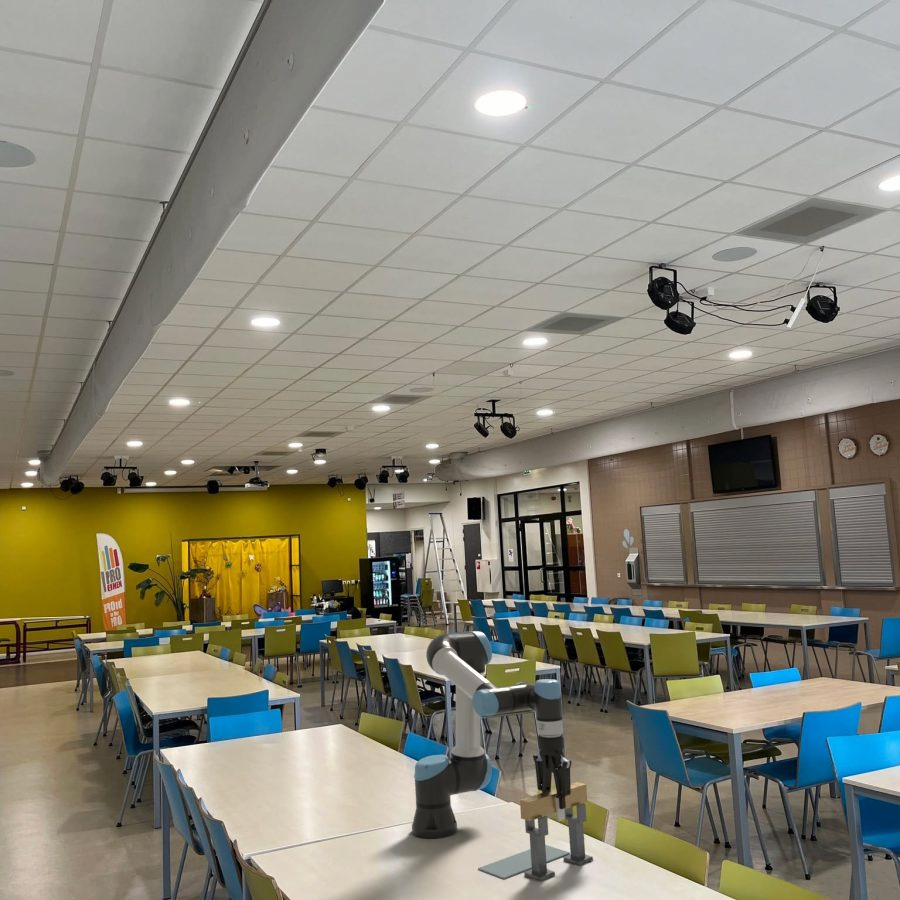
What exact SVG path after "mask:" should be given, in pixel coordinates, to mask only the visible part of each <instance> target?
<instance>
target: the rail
mask: <svg viewBox="0 0 900 900" xmlns="http://www.w3.org/2000/svg"><path fill="white" fill-rule="evenodd" d="M570 784H571V794H570V795H567V796H566V797H565V802H566V808H565V809H567V808H570V807H573V808H574V807H576V806H577V805H580V804H583V803H584V804H586V803H587V802H588V792H587V784H586V783H583V782H578V781H576V782H573V783H570ZM556 796H557V791H556V788H554V789H551V790H550V791H547V792H544V793H542V792H541V793H537V794H534V795H531V796H527V797H525V798H522V799H519V806H520V808H519V809H520V819H522V820H524V821H525V820H528V821H532V820H538V818H541V817H544V816H546V815H549V814H552V813H554V814H556V800H555V797H556Z"/></svg>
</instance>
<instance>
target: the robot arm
mask: <svg viewBox="0 0 900 900" xmlns="http://www.w3.org/2000/svg"><path fill="white" fill-rule="evenodd" d="M492 658H493V649H492V645H491V643H490V640H489V638H488V637H487V636H486V634H485V633H484V632H482V631H477V630H475V631H474V630H473V631H471V630H468V631H460V632H452V633H442V634H439V635H438V636H435V638H433V639H432V640H431V641H430V643H429V644H428V646H427V648H426V661H427V664H428V666H429V668H430V669H431V670H432V671H433V672H435V673H436V674H438V675H440V676H444V677H445V678H446V679H448V680H449V681H450V682H451V683H452V684H453V685H455V745H454V746H453V748H452V749H451V750H450V758H449V757H448V756H447V755H446V754H436V755H435V754H434V755H428V756H426V757H423V758H420V759H419V760H417V762H416V764H415V765H414V775H413V776H414V787H415V789H414V791H415V805H416V806H415V807H416V808H415V813H414V816H413V821H412V823H411V833H412V835H413V836H415V837H418V838H422V839H439V838H444V837H448V836H452V835H454V834H455V833H457V831H458V824H457V823H458V822H457V819H456V817H455V814H454V811H453V808H452V802H451V796H454V795H459V794H463V793H469V792H476V791H478V790H481V789H484V788H485V787H487V786H488V784H489V783H490V781H491V778H492V770H493V769H492V763H491V759H490V756H489V755H488V754H487V753H486V750H485V749H484V748H483V747H482V746H481V717H487V716H488V717H492V716H494V715H495V716H496V715H501V714H508V713H514V712H520V711H529V710H530V711H534V712H535V714H536V727H537V728H536V729H537V730H536V731H537V734H538V736H537V745H538V749H539V753H538V754H533V755H532V758H533V761H534V767H535V778H536V786H537V790H538V791H541V793H544V792H547V791H550V790H552V777H553V780H554V784H555V789H556V791H557V796H556V797H555V800H556V812H555V813H552V814H549V815H546V816H547V819H551V818H553V817H555V816H556V822H562V821H565V808H566V802H565V797H566V796H567V795H570V794H571V784H572V783H571V767H572V760H571V759H567V758H565V754H564V752H563V750H564V747H565V741H564V740H565V739H564V735H563V734H564V725H563V711H562V710H563V709H562V691H561V683H560V682H559V681H558V680H557V679H552V678H550V679H549V678H545V679H543V678H542V679H538V680H536V681H535V682H534V683H531V682H527V681H525V682H521V681H519V682H516V683H515V684H514V685H508V686H507V685H506V686H501V687H500V686H499V687H498V686H496V685H494V684H493V683H492V682H490V680H488V679H487V678H486V677H484V676H483V675H484V674H485V673H486V665H487V666H488V665H489V664H490V663H491V660H492Z"/></svg>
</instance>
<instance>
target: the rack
mask: <svg viewBox="0 0 900 900" xmlns="http://www.w3.org/2000/svg"><path fill="white" fill-rule="evenodd" d="M575 807H576V814H574V806H573V807H570V808H567V809H565V820H566V821H568V837H569V839H568V840H569V849H570V851H569V852H570V854H569V855H566V856H564V857H562V858H563V861H564V862H566V863H568V864H569V863H570V864H572V865H575V866H578V867H579V866H582V865H584V864H587V863H590V862H592V861H594V856H592V855H589V854H586V848H585V846H586V845H585V834H584V823H585V822H587V811H586V810H587V807H586V803H582V804H579V805H576V806H575ZM535 820H536V819H535ZM535 820H532V821H528V820H525V819H524V825H525V833H526V834H529V845H530V846H529V847H530V848H529V849H530V850H531V865H532V869H530V870H527V871H525V872H523V874H524V877H526V878H529V879H532V880H534V881H538V882H539V883H540V882H542V881H545V880H548V879H550V878H553V877H554V876H556V872H555V871H554V870H550V869H548V863H547V862H546V847H545V845H546V836H549V825H548V824H549V821H548V818H547V816H543V817H540V818H537V827H538V828H537V827H536V821H535ZM565 820H564V821H565Z"/></svg>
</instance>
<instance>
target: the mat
mask: <svg viewBox="0 0 900 900" xmlns="http://www.w3.org/2000/svg"><path fill="white" fill-rule="evenodd" d="M545 847H546V862H547V864H548V863H550V861H551V862H552V861H555V859H556V860H558V859H561V858H563V857H565V856H568V855H571V853H570V851H567V850H563V849H560V848H557V847H555V846H550V845H547V844H545ZM477 870H478V871H481V872H484V873H486V874H489V875H491V876H494V877H497V878H500V879H501V880H506V879H509V878H511V877H513V876H516V875H519V874H521V873H524V872H526V871H529V870H532V865H531V850H530V848H529V849H527V850H524V851H521V852H518V853H515V854H513V855H510V856H507V857H505V858H502V859H499V860H497V861H494V862H490V863H488V864H486V865H482V866H480V867H478V868H477Z"/></svg>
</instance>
